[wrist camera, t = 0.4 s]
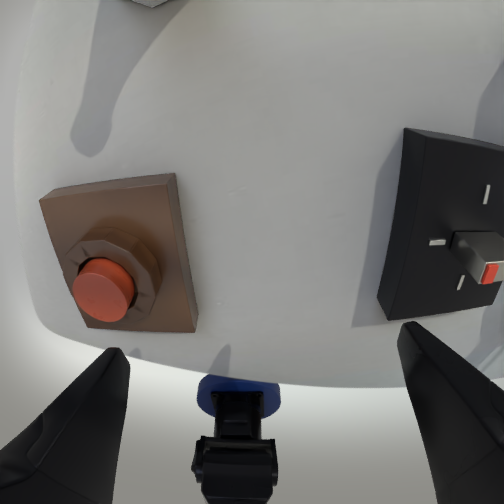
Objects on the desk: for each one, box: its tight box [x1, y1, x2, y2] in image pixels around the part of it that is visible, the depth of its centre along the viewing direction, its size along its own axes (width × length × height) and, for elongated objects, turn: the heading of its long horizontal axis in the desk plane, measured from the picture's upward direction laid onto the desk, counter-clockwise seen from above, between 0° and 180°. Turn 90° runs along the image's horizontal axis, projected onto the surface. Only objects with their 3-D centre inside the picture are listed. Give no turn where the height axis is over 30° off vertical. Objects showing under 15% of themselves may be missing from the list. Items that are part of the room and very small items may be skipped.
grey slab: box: [450, 232, 504, 284], centre depth 16 cm, size 5×2×4 cm, turn 92°
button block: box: [39, 173, 199, 333], centre depth 20 cm, size 12×10×4 cm
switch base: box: [377, 128, 504, 321], centre depth 19 cm, size 14×12×3 cm
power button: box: [73, 258, 135, 322], centre depth 18 cm, size 4×4×2 cm
